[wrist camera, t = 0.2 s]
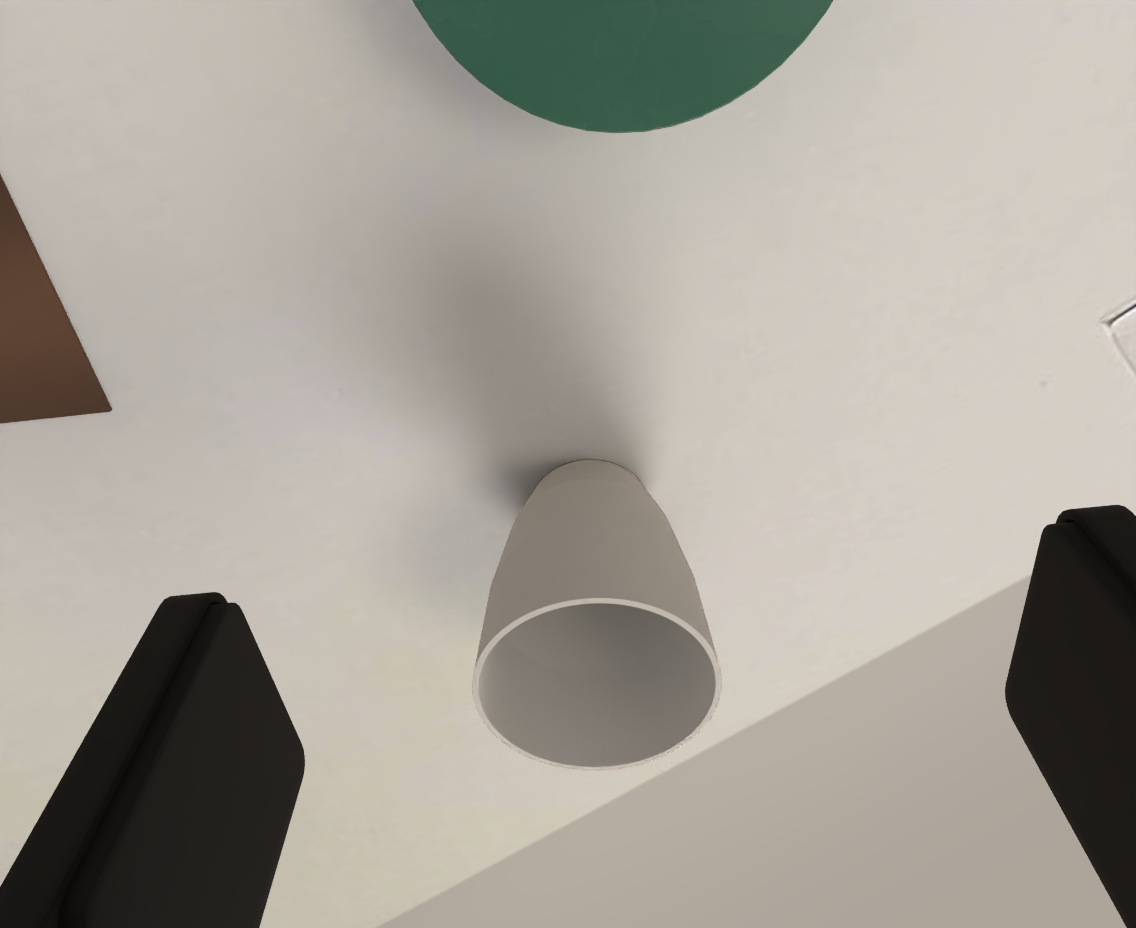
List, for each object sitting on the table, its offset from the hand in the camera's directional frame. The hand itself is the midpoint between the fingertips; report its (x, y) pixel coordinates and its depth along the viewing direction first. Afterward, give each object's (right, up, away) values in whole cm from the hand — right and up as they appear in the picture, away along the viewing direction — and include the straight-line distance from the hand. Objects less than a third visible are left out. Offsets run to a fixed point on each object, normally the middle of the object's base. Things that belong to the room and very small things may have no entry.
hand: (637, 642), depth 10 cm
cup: (0, 0, +26) cm, 26 cm away
